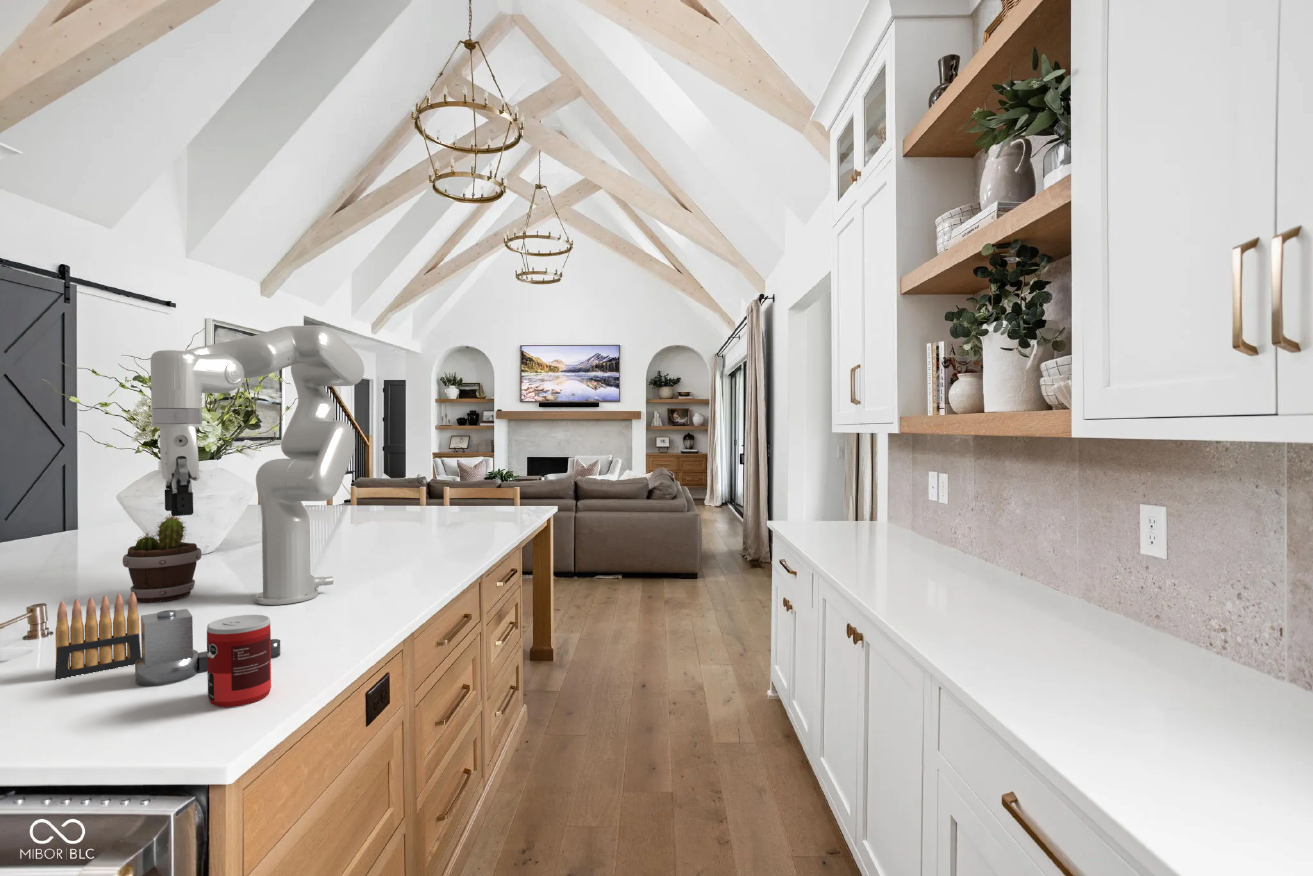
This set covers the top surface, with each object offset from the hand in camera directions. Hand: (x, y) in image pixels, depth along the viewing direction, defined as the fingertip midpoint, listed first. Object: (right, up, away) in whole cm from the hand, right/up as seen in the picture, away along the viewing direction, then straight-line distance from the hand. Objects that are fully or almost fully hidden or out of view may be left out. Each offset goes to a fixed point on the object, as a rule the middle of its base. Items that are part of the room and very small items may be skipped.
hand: (178, 512), depth 125 cm
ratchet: (+15, -24, -14) cm, 31 cm away
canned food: (+27, -24, -26) cm, 45 cm away
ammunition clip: (-2, -24, -15) cm, 28 cm away
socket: (+11, -21, -18) cm, 29 cm away
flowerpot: (-25, -23, +31) cm, 46 cm away
